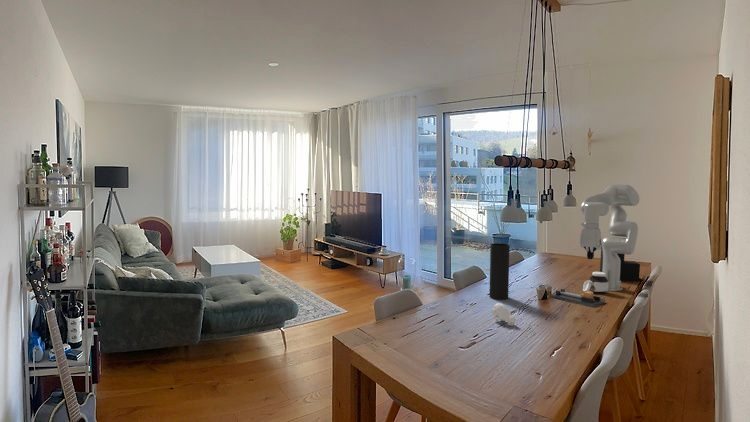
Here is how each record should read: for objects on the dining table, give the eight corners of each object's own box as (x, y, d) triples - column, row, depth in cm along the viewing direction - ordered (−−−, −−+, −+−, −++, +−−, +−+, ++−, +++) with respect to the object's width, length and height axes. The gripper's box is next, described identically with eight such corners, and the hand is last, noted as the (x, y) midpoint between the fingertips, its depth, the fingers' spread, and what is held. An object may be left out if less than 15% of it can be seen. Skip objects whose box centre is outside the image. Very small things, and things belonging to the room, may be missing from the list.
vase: (508, 300, 250) (510, 246, 247) (489, 299, 252) (491, 245, 249) (507, 295, 260) (508, 243, 258) (489, 294, 262) (490, 243, 260)
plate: (563, 293, 265) (563, 287, 265) (605, 302, 246) (605, 296, 246) (550, 297, 256) (550, 291, 256) (592, 307, 237) (592, 300, 237)
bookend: (636, 278, 305) (638, 243, 303) (642, 281, 294) (644, 245, 292) (599, 276, 309) (600, 242, 308) (604, 280, 299) (605, 244, 297)
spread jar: (610, 293, 264) (611, 274, 263) (595, 295, 260) (596, 275, 259) (593, 289, 275) (594, 270, 274) (579, 290, 271) (579, 271, 270)
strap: (561, 292, 260) (561, 290, 260) (586, 297, 249) (586, 295, 249) (557, 293, 258) (557, 291, 258) (582, 298, 247) (582, 296, 247)
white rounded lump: (500, 301, 217) (520, 309, 207) (498, 317, 219) (518, 327, 209) (491, 302, 214) (510, 311, 204) (489, 320, 215) (509, 329, 205)
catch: (584, 297, 251) (584, 290, 250) (593, 299, 247) (593, 291, 246) (579, 298, 247) (579, 291, 247) (588, 300, 244) (588, 293, 243)
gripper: (574, 225, 253) (573, 257, 255) (602, 228, 241) (601, 261, 243) (580, 224, 257) (580, 255, 259) (608, 226, 246) (607, 259, 248)
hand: (590, 258), depth 251 cm, fingers closed
